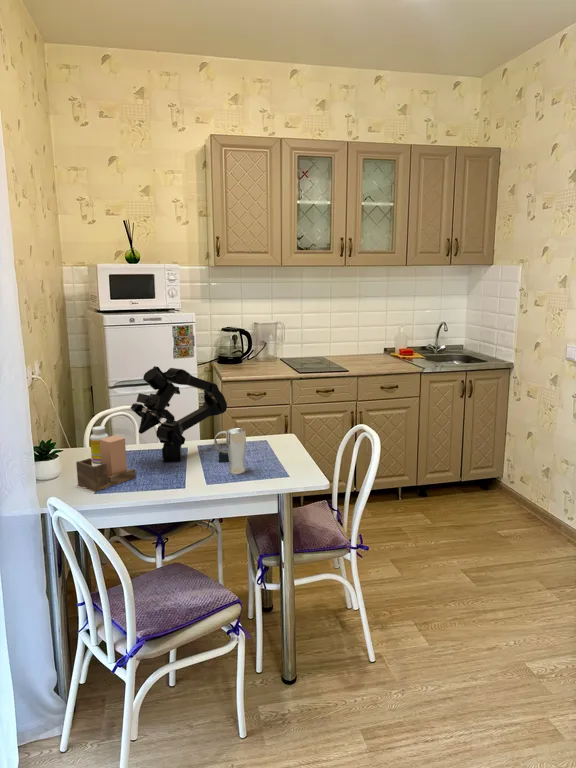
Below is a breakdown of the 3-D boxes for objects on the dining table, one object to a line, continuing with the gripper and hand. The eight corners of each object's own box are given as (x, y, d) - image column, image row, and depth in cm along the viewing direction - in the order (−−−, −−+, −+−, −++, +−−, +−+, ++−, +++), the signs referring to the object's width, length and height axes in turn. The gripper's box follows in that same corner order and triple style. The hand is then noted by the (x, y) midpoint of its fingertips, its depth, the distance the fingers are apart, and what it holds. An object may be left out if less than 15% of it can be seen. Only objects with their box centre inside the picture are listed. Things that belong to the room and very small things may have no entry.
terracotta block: (116, 471, 206) (114, 435, 203) (127, 474, 202) (124, 438, 200) (101, 475, 201) (99, 439, 199) (112, 479, 197) (109, 442, 195)
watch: (235, 462, 218) (234, 433, 216) (214, 462, 218) (213, 433, 215) (236, 457, 223) (236, 429, 221) (215, 457, 223) (214, 429, 221)
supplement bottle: (106, 463, 218) (104, 430, 215) (89, 463, 218) (86, 430, 215) (112, 457, 224) (110, 425, 222) (95, 457, 224) (92, 425, 222)
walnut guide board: (118, 471, 209) (116, 450, 207) (135, 477, 203) (134, 455, 201) (78, 484, 196) (76, 461, 195) (95, 491, 190) (93, 467, 189)
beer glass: (228, 468, 211) (227, 427, 208) (247, 468, 211) (246, 427, 208) (225, 474, 204) (224, 433, 202) (245, 474, 204) (244, 433, 201)
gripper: (132, 381, 215) (109, 416, 208) (166, 387, 203) (142, 425, 197) (151, 398, 222) (129, 433, 216) (184, 405, 211) (162, 442, 205)
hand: (139, 433), depth 208 cm, fingers closed
